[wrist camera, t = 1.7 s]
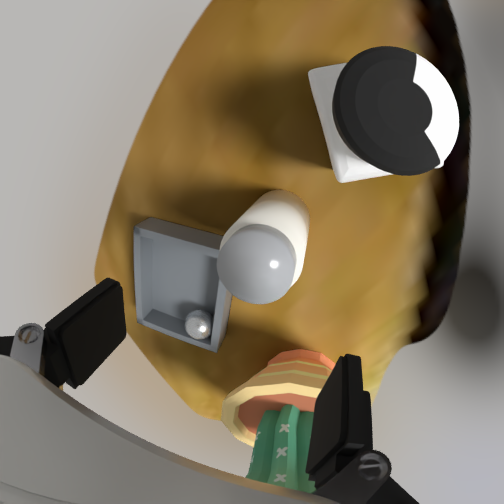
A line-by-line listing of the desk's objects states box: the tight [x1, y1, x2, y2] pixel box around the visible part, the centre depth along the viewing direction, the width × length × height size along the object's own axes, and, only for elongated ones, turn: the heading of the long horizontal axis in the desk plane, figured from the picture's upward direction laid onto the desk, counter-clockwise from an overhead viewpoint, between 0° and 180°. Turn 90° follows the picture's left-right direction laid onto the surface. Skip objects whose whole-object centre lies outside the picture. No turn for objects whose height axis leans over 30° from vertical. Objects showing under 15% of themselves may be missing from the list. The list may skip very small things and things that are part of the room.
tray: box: [134, 217, 232, 353], centre depth 28 cm, size 12×10×3 cm
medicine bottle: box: [308, 46, 459, 183], centre depth 14 cm, size 7×7×12 cm
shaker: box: [217, 190, 310, 304], centre depth 20 cm, size 5×5×10 cm
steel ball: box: [185, 309, 214, 339], centre depth 29 cm, size 3×3×3 cm
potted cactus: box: [221, 349, 335, 493], centre depth 20 cm, size 15×15×25 cm
